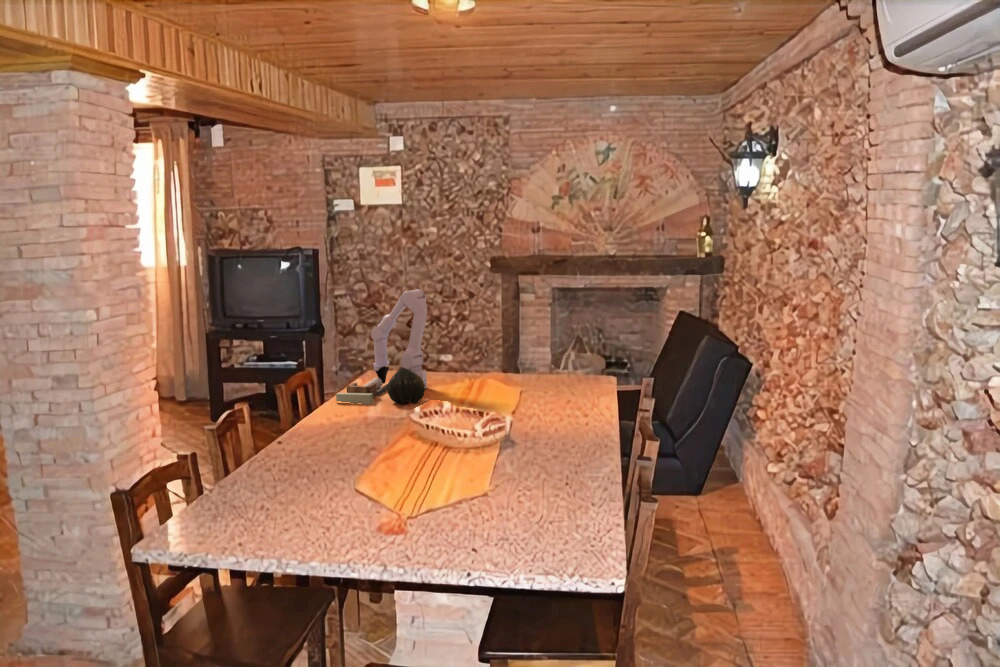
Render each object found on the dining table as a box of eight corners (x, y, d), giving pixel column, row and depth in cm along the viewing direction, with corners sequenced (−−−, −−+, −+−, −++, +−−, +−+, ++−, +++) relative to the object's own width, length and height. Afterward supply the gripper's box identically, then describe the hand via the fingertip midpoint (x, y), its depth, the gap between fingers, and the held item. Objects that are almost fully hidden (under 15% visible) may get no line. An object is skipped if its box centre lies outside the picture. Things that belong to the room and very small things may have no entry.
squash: (417, 395, 303) (421, 362, 311) (380, 396, 306) (385, 363, 314) (425, 411, 315) (429, 379, 323) (390, 412, 317) (395, 381, 326)
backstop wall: (373, 402, 315) (372, 393, 315) (370, 404, 313) (370, 394, 312) (339, 402, 319) (338, 392, 318) (336, 403, 316) (336, 394, 316)
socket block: (376, 396, 326) (376, 383, 325) (369, 401, 319) (369, 387, 318) (354, 396, 328) (354, 382, 327) (347, 400, 321) (346, 386, 320)
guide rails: (397, 384, 351) (397, 379, 351) (378, 396, 327) (378, 391, 327) (376, 383, 353) (375, 379, 353) (355, 395, 330) (355, 391, 329)
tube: (370, 378, 346) (353, 389, 322) (381, 374, 345) (364, 386, 321) (375, 389, 347) (357, 401, 322) (385, 385, 346) (369, 397, 321)
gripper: (378, 350, 353) (380, 379, 355) (366, 356, 339) (368, 386, 341) (393, 351, 351) (394, 380, 353) (381, 356, 337) (383, 386, 339)
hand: (382, 383), depth 347 cm, fingers closed
